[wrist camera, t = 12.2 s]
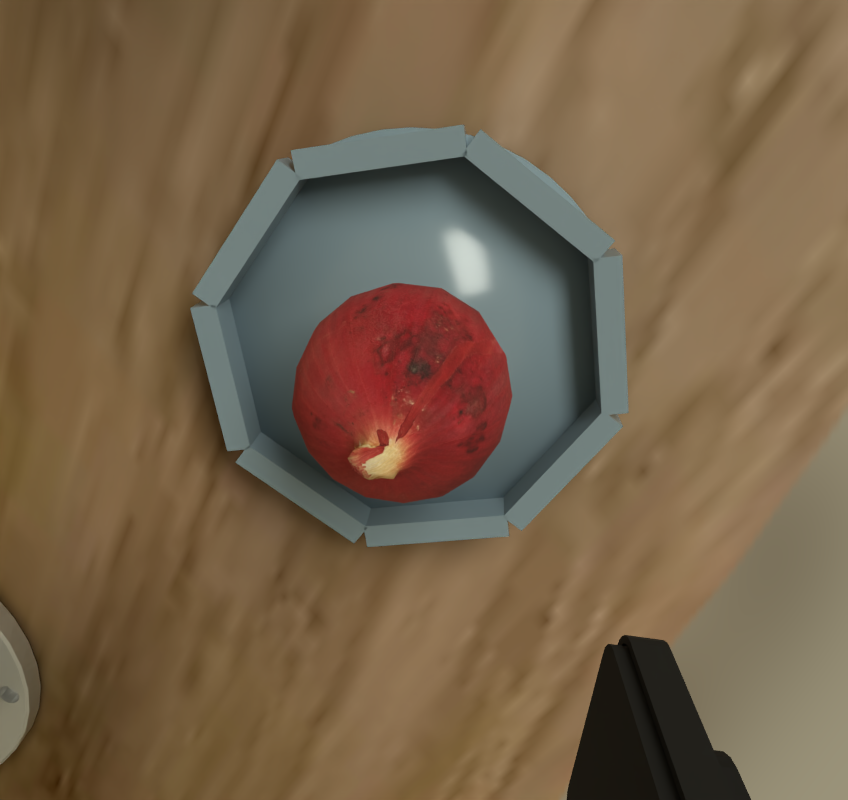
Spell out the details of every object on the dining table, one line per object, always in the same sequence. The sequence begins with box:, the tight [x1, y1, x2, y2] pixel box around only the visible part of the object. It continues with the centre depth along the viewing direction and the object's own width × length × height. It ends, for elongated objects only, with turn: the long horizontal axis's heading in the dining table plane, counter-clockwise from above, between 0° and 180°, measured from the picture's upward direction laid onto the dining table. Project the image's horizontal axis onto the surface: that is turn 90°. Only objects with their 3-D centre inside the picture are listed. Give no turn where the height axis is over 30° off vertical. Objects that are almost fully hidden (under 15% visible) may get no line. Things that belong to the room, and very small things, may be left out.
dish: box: [190, 125, 628, 547], centre depth 22 cm, size 13×13×2 cm
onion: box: [292, 283, 512, 503], centre depth 19 cm, size 6×6×8 cm
